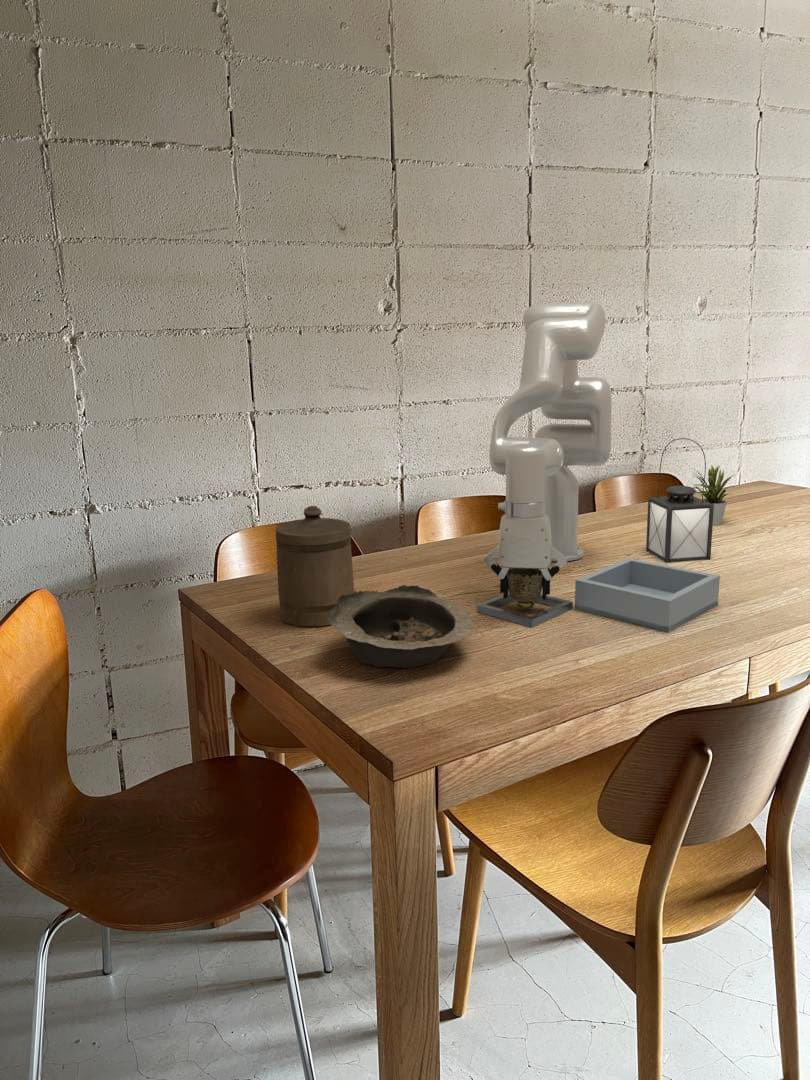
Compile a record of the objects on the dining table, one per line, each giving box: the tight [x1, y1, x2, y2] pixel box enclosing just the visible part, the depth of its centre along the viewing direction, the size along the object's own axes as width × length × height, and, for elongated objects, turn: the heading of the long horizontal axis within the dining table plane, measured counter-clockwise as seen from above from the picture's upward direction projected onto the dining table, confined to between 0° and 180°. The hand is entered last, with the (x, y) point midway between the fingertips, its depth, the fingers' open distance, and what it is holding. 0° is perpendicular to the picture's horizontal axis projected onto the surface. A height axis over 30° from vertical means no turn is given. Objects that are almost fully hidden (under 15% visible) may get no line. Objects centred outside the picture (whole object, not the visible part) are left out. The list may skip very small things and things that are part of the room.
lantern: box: [645, 437, 714, 564], centre depth 198 cm, size 11×11×28 cm
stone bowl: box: [327, 585, 475, 670], centre depth 146 cm, size 25×25×9 cm
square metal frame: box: [476, 591, 574, 628], centre depth 166 cm, size 13×13×2 cm
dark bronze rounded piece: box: [506, 568, 544, 610], centre depth 166 cm, size 8×7×8 cm
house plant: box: [689, 464, 737, 527], centre depth 230 cm, size 14×14×16 cm
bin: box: [574, 557, 721, 633], centre depth 166 cm, size 20×20×6 cm
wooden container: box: [275, 505, 355, 628], centre depth 165 cm, size 15×15×22 cm
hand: (525, 596), depth 166 cm, fingers closed on dark bronze rounded piece, 7 cm apart
